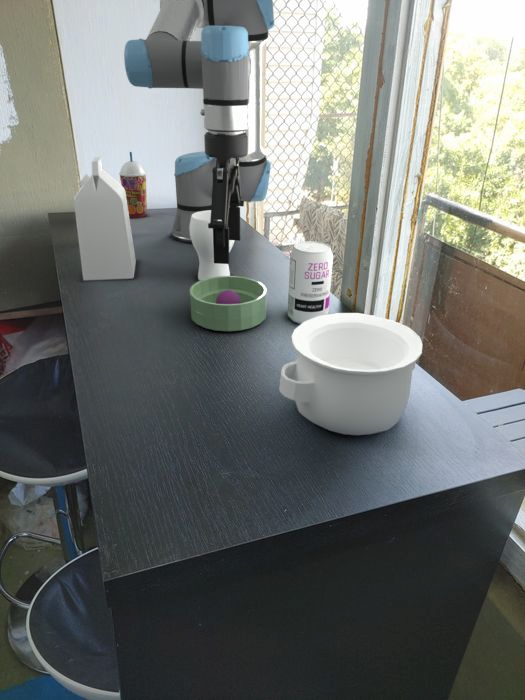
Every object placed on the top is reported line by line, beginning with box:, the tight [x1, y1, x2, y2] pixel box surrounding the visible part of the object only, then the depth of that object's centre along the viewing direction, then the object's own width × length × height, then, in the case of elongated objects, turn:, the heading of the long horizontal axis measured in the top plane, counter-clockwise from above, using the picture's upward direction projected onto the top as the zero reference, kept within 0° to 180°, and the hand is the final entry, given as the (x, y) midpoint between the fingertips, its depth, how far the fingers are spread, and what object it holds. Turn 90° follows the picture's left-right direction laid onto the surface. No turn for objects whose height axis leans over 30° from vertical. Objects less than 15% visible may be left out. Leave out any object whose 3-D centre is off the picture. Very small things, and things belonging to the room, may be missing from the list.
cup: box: [189, 210, 236, 281], centre depth 122 cm, size 11×11×15 cm
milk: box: [73, 156, 137, 281], centre depth 122 cm, size 12×12×26 cm
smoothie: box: [119, 151, 148, 219], centre depth 169 cm, size 8×8×20 cm
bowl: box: [188, 275, 268, 332], centre depth 105 cm, size 15×15×6 cm
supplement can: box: [287, 240, 334, 325], centre depth 103 cm, size 8×8×15 cm
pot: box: [278, 312, 424, 436], centre depth 75 cm, size 22×17×12 cm
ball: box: [216, 290, 241, 304], centre depth 105 cm, size 5×5×5 cm
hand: (227, 250), depth 100 cm, fingers open, 13 cm apart
